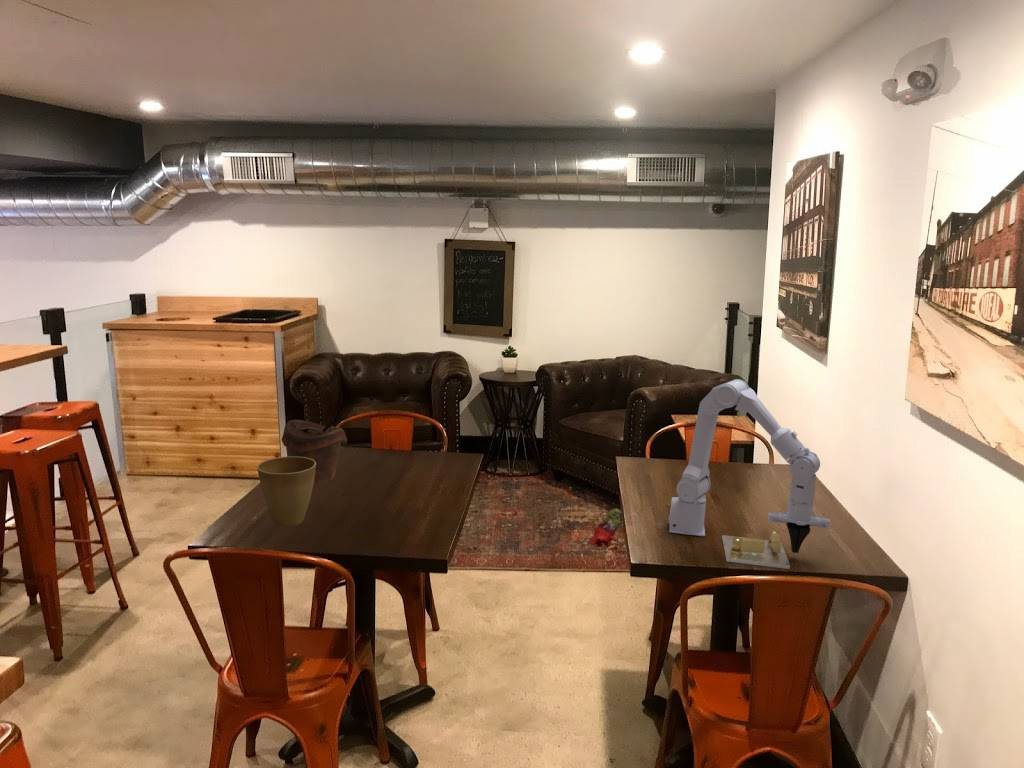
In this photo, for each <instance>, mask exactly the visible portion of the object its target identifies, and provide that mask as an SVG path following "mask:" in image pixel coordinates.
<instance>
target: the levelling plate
mask: <svg viewBox="0 0 1024 768" xmlns="http://www.w3.org/2000/svg"><path fill="white" fill-rule="evenodd" d="M734 537H736V536H733V535H727V534H726V535H725V534H724V535H722V537H721V538H722V544H723V549H724V550H723V551H724V555H725V561H726V562H727V563H735V564H743V565H744V564H745V565H753V566H761V567H767V568H778V569H785V570H790V567H791V564H790V561H789V558H788V556H787V554H786V551H785V548H784V546H783V543H781V551H780V553H777V552H773V549H772V547H769V546H768V545H767V544H768V541H769V539H763V540H764V542H765V544H764V552H763V553H754V552H742V555H740V556H736V555H732V554H731V553H730V551H731V548H732V544H733V538H734ZM738 537H739V538H745V537H744V536H743V537H742V536H738ZM748 538H749V539H754V537H753V538H750V537H748Z"/></svg>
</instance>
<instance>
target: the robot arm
mask: <svg viewBox="0 0 1024 768" xmlns="http://www.w3.org/2000/svg"><path fill="white" fill-rule="evenodd" d="M698 406H699V407H698V411H697V417H696V422H695V428H694V432H693V438H692V442H691V448H690V452H689V453H690V454H689V458H688V464H687V466H686V467H685V469H684V471H683V473H682V477H681V479H680V480H679V482H678V483H677V485H676V491H675V492H676V494H677V496H676V497H674V496H672V497H671V498H670V499H671V502H670V510H669V511H670V512H669V516H668V520H667V521H668V524H669V525H668V527H669V529H668V530H669V531H668V532H669V533H673V534H681V535H688V536H698V537H705V536H706V530H705V515H706V507H707V506H706V505H707V504H706V503H707V498H706V497H707V496H706V494H707V493H708V492H709V491H710V488H711V480H710V472H711V471H710V469H709V464H710V463H709V462H710V460H711V459H710V458H711V453H712V447H713V443H714V438H715V432H716V427H717V422H718V417H719V413H720V412H721V411H723V410H725V409H730V408H733V407H735V406H736V407H735V409H734V410H735V411H739V412H744V413H748V414H750V416H751V417H752V418H753V419H754V420H755V421H756V422H757V423H758V424H759V425H760V426H761V428H762V429H764V431H765V432H766V433H767V434H768V435H770V444H771V445H772V446H773V448H774V449H775V450H776V451H777V453H779V455H780V456H781V457H782V458H783V460H785V462H786V463H787V464H789V471H790V474H791V475H792V476H791V481H790V487H789V495H788V503H787V512H767V522H768V523H782V524H785V525H786V527H787V532H788V534H789V537H790V538H789V539H790V545H791V546H790V548H791V549H790V550H791V553H793V554H794V553H795V554H798V553H799V551H800V548H801V546H802V544H803V542H804V541H805V539H806V537H807V536H808V535H809V534H810V533H811V527H817V528H824V529H827V530H830V528H831V527H830V525H831V521H830V519H829V518H825V517H818V516H814V515H812V514H813V507H814V499H815V490H816V479H817V474H816V473H817V472H818V471H819V469H820V468H821V460H820V458H819V456H818V455H817V453H815V452H813V451H811V450H810V448H809V447H807V448H806V446H804V444H803V443H802V442H801V441H800V440H799V439H798V437H797V436H798V433H797V432H795V431H794V430H793V431H791V429H789V428H784V427H782V426H781V425H780V424H779V423H778V421H777V420H776V418H775V417H774V416H773V415H772V413H771V411H769V410H768V409H767V407H766V406H765V404H764V402H762V401H761V399H760V398H759V397H758V394H757V393H756V392H755V390H753V389H752V387H749V384H748V383H747V382H746V381H744V380H743V379H739V378H735V379H732V380H730V381H727V382H725V383H722V384H719V385H717V386H715V387H712V389H711V390H710V391H709V392H708V394H707V395H705V397H703V399H702V400H701V401H700V402H699V405H698Z"/></svg>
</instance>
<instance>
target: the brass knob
mask: <svg viewBox="0 0 1024 768" xmlns="http://www.w3.org/2000/svg"><path fill="white" fill-rule="evenodd" d="M768 540H769V541H768V544H767V545H768V546H769V547H772V549H773V552H777V553H780V551H781V543H782V538H781V537H780V531H779V530H774V529H771V530H770V531H769V538H768ZM782 544H783V543H782Z"/></svg>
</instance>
